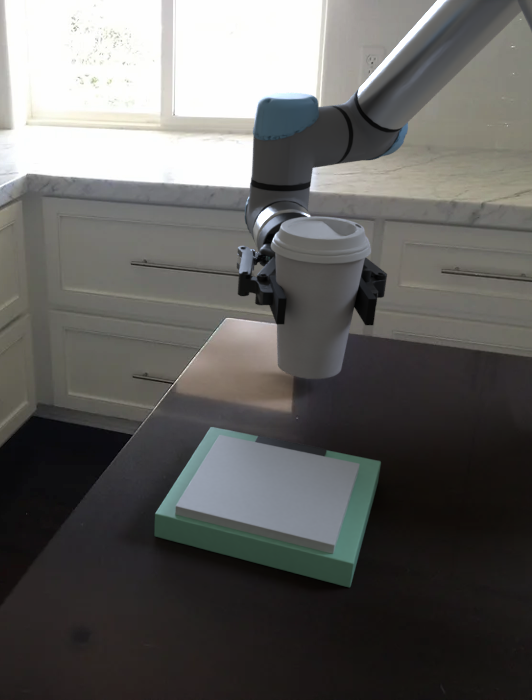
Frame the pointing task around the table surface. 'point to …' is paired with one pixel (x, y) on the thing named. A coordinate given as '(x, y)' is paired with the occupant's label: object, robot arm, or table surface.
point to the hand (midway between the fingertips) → (326, 311)
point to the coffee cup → (317, 292)
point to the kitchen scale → (272, 504)
